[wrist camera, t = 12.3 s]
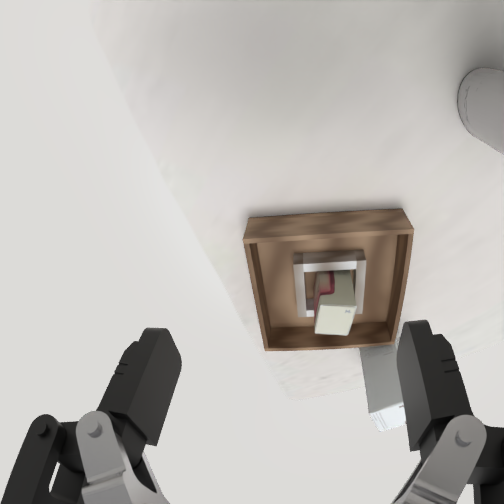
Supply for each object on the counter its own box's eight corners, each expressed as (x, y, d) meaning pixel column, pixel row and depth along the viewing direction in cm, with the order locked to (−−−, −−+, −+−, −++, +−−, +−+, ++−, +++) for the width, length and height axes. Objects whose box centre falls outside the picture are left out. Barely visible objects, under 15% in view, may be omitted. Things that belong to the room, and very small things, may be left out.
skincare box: (355, 331, 49) (364, 413, 36) (391, 319, 46) (409, 400, 34) (368, 360, 52) (377, 434, 40) (400, 349, 50) (415, 423, 38)
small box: (317, 262, 41) (319, 304, 35) (349, 264, 41) (357, 306, 34) (312, 292, 44) (313, 334, 38) (343, 294, 44) (348, 336, 37)
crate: (402, 208, 36) (414, 229, 32) (388, 320, 46) (394, 344, 42) (248, 218, 40) (242, 239, 36) (268, 326, 50) (264, 351, 46)
